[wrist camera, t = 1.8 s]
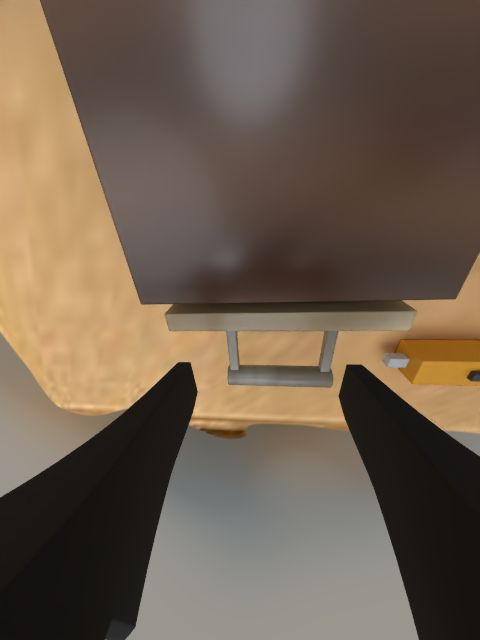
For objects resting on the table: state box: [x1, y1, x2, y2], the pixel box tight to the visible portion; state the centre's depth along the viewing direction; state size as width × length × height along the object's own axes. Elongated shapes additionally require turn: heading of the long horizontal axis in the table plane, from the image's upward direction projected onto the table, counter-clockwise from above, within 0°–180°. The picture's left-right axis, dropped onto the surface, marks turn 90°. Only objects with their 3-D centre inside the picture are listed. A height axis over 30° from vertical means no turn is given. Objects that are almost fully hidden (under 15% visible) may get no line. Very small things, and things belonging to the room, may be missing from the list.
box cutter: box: [382, 340, 480, 386], centre depth 17 cm, size 9×3×3 cm, turn 94°
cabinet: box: [40, 0, 480, 304], centre depth 9 cm, size 15×15×8 cm
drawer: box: [165, 300, 417, 388], centre depth 12 cm, size 18×13×6 cm
